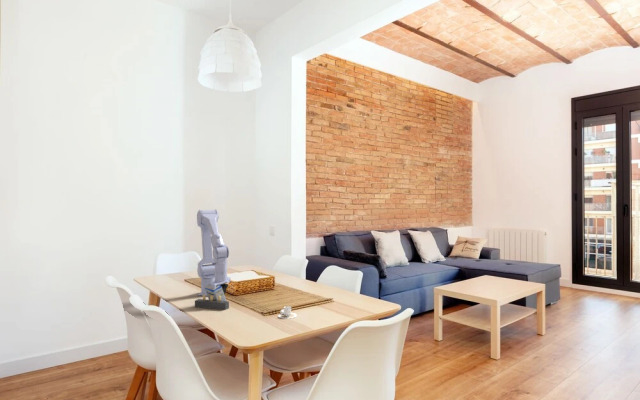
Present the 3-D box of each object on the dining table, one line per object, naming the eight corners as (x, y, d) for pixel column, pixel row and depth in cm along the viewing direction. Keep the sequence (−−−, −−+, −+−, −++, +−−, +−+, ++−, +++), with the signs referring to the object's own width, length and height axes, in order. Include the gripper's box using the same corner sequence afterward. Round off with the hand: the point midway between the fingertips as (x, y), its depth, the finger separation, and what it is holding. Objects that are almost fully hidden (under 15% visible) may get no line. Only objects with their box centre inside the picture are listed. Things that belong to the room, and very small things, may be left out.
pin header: (198, 305, 181) (198, 293, 180) (229, 307, 176) (228, 295, 176) (194, 307, 178) (194, 295, 178) (225, 309, 173) (225, 297, 173)
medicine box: (209, 303, 183) (203, 287, 181) (217, 298, 187) (211, 282, 184) (219, 306, 178) (213, 290, 176) (227, 301, 181) (221, 285, 179)
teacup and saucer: (279, 313, 169) (279, 303, 169) (297, 313, 169) (297, 303, 168) (276, 319, 160) (276, 310, 160) (295, 319, 160) (295, 310, 160)
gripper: (220, 275, 177) (220, 304, 177) (235, 268, 190) (236, 296, 191) (206, 274, 179) (207, 303, 179) (223, 268, 192) (223, 295, 193)
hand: (221, 299), depth 185 cm, fingers closed, pressing on medicine box
